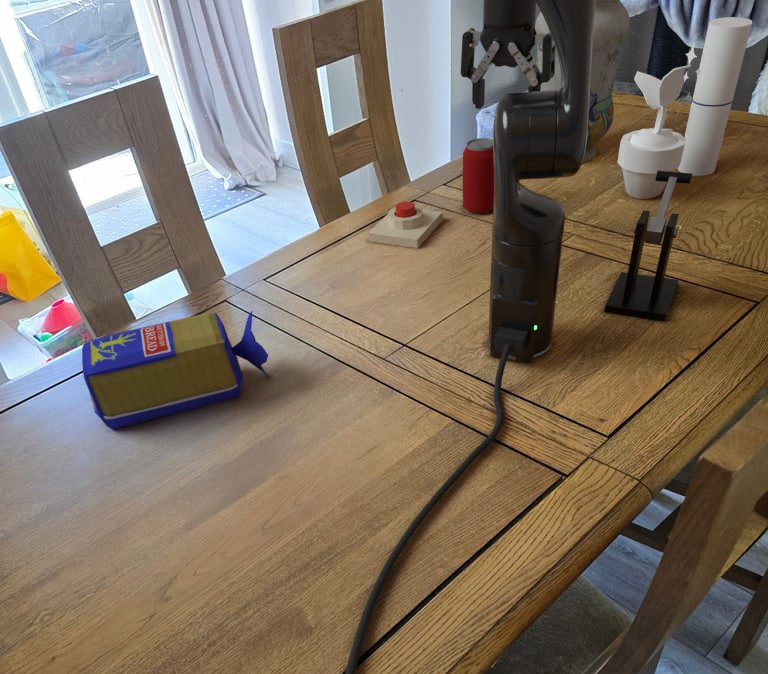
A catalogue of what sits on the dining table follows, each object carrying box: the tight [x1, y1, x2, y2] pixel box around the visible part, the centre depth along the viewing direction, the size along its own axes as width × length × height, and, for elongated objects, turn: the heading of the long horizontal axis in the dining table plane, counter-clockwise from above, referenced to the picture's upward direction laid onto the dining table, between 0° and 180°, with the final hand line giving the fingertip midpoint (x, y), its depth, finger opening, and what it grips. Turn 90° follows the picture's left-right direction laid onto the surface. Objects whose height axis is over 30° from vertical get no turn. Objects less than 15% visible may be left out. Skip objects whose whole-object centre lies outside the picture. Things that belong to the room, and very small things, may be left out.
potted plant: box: [617, 43, 702, 200], centre depth 127 cm, size 13×12×25 cm
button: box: [394, 201, 416, 218], centre depth 130 cm, size 4×4×2 cm
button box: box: [368, 205, 444, 249], centre depth 131 cm, size 12×10×4 cm
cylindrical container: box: [677, 16, 753, 177], centre depth 133 cm, size 7×7×25 cm
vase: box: [535, 0, 630, 164], centre depth 141 cm, size 18×18×30 cm
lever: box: [644, 171, 693, 246], centre depth 103 cm, size 13×5×2 cm, turn 154°
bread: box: [81, 310, 270, 430], centre depth 97 cm, size 10×25×10 cm, turn 108°
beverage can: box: [462, 137, 494, 215], centre depth 132 cm, size 7×7×12 cm
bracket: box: [603, 209, 680, 322], centre depth 105 cm, size 11×9×13 cm
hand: (505, 109), depth 110 cm, fingers open, 8 cm apart
